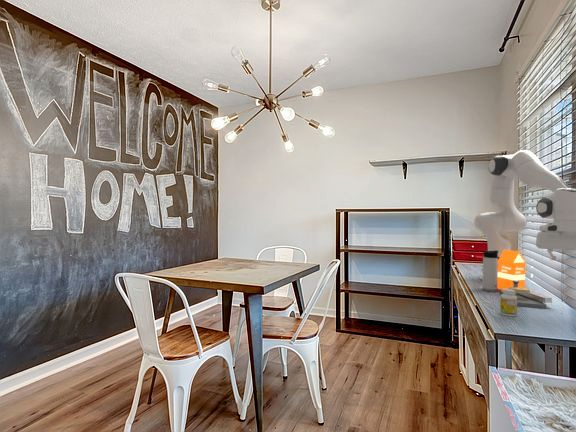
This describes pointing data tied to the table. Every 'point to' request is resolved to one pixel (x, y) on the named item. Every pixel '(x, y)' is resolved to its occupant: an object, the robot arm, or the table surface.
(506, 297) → the supplement bottle
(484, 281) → the travel mug
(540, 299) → the arm link
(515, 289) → the keeper clip
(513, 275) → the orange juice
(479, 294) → the table surface
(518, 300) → the base plate
